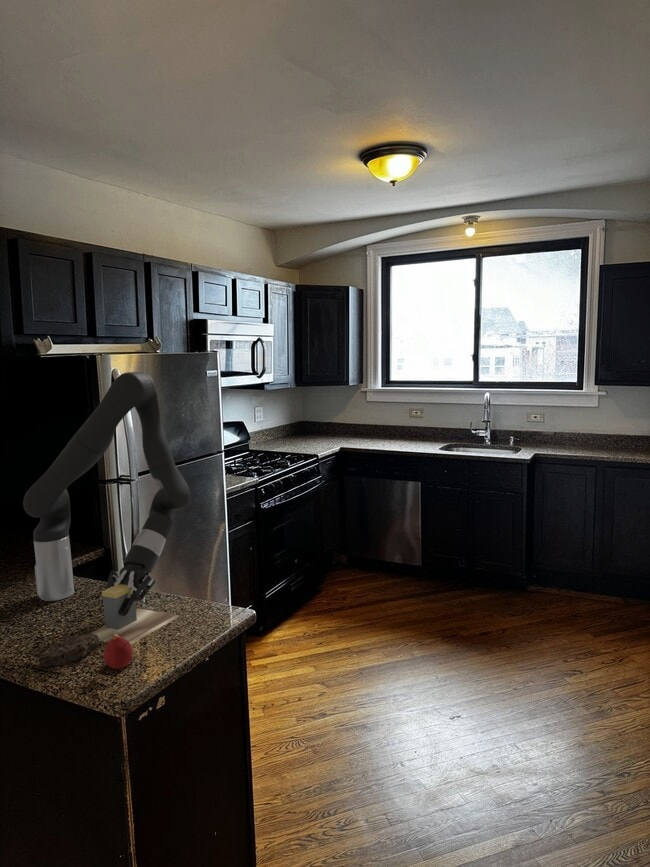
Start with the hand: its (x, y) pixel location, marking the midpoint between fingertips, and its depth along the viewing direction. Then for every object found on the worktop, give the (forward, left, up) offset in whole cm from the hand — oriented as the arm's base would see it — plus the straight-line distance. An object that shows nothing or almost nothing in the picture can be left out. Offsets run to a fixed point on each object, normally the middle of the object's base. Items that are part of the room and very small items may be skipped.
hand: (114, 613), depth 144 cm
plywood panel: (+4, +2, -5) cm, 6 cm away
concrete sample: (+1, -14, -5) cm, 15 cm away
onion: (+16, -14, -5) cm, 22 cm away
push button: (-20, +26, -5) cm, 33 cm away
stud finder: (0, +2, -3) cm, 4 cm away
